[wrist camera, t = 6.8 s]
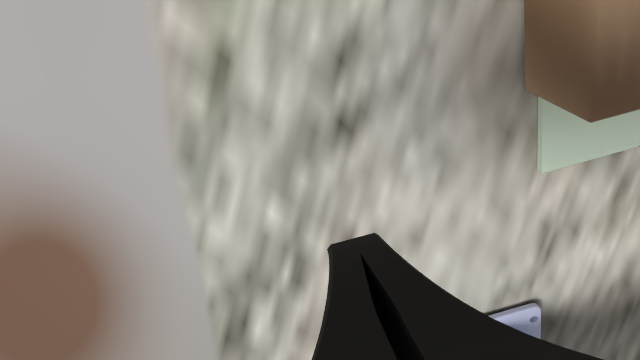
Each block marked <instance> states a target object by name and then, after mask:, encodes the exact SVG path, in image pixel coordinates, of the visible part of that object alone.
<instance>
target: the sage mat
mask: <svg viewBox="0 0 640 360" xmlns="http://www.w3.org/2000/svg"><path fill="white" fill-rule="evenodd" d="M639 146H640V109H639V110H636V111H632V112H628V113H625V114H621V115H617V116H614V117H610V118H606V119H603V120H599V121H596V122H592V123H590V122H588V121H586V120H584V119H582V118H580V117H578V116H576V115H574V114H572V113H570V112H568V111H566V110H564V109H562V108H560V107H558V106H556V105H554V104H552V103H550V102H548V101H546V100H544V99H542V98H540V97H538V154H537V170H538V171H539V172H540V173H546V172H549V171H553V170H556V169H560V168H564V167H567V166H571V165H574V164H578V163H582V162H585V161H589V160H592V159H596V158H599V157H603V156H607V155H610V154H614V153H617V152H621V151H625V150H628V149H632V148H635V147H639Z"/></svg>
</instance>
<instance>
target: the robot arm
mask: <svg viewBox="0 0 640 360" xmlns="http://www.w3.org/2000/svg"><path fill="white" fill-rule="evenodd" d="M327 250H328V254H329V284H328V293H327V300H326V306H325V311H324V316H323V321H322V326H321V330H320V334H319V338H318V341H317V344H316V348H315V351H314V354H313V357H312V360H603V359H599V358H596V357H593V356H590V355H586V354H583V353H580V352H576V351H573V350H570V349H567V348H563V347H560V346H558V345H555V344H552V343H550V342H547V341H544V340H542V339H541V308H540V307H539V306H538V305H537V304H536V303H530V304H527V305H523V306H520V307H516V308H513V309H509V310H506V311H503V312H499V313H496V314H492V315H489V316H487V315H485V314H483V313H482V312H480V311H478V310H476V309H474V308H473V307H471V306H469V305H467V304H466V303H464V302H462V301H461V300H459V299H457V298H456V297H454V296H453V295H451V294H450V293H448V292H447V291H445V290H444V289H442V288H441V287H439V286H438V285H436V284H435V283H434V282H432V281H431V280H430V279H428V278H427V277H425V276H424V275H423V274H422V273H420V272H419V271H418V270H417V269H415V268H414V267H413V266H412V265H410V264H409V263H408V262H407V261H405V260H404V259H403V258H402V257H401V256H400V255H399V254H397V253H396V252H395V251H394V250H393V249H392V248H391V247H390V246H389V245H388V244H387V243H386V242H385V241H384V240H383V239H382V238H381V237H380V236H379V235H377V234H376V233H372V234H369V235H365V236H361V237H357V238H354V239H350V240H346V241H343V242H339V243H335V244H331V245H330V246H329V248H328V249H327Z"/></svg>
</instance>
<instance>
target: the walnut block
mask: <svg viewBox="0 0 640 360" xmlns="http://www.w3.org/2000/svg"><path fill="white" fill-rule="evenodd" d="M525 90H526V91H528V92H530V93H532V94H534V95H536V96H538V97H540V98H542V99H544V100H546V101H548V102H550V103H552V104H554V105H556V106H558V107H560V108H562V109H564V110H566V111H568V112H570V113H572V114H574V115H576V116H578V117H580V118H582V119H584V120H586V121H588V122H590V123H592V122H596V121H599V120H603V119H606V118H610V117H614V116H617V115H621V114H625V113H628V112H632V111H636V110H639V109H640V0H525Z"/></svg>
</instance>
